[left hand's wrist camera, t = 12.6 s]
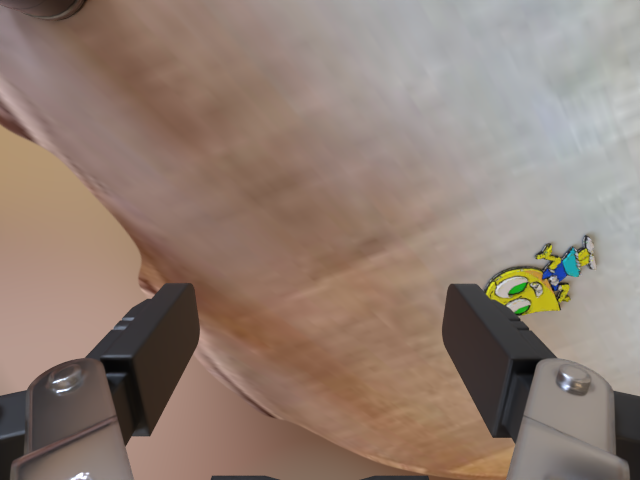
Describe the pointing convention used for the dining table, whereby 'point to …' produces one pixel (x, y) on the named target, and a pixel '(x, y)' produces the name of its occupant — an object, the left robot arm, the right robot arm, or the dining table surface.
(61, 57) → the dining table surface
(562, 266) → the toy
